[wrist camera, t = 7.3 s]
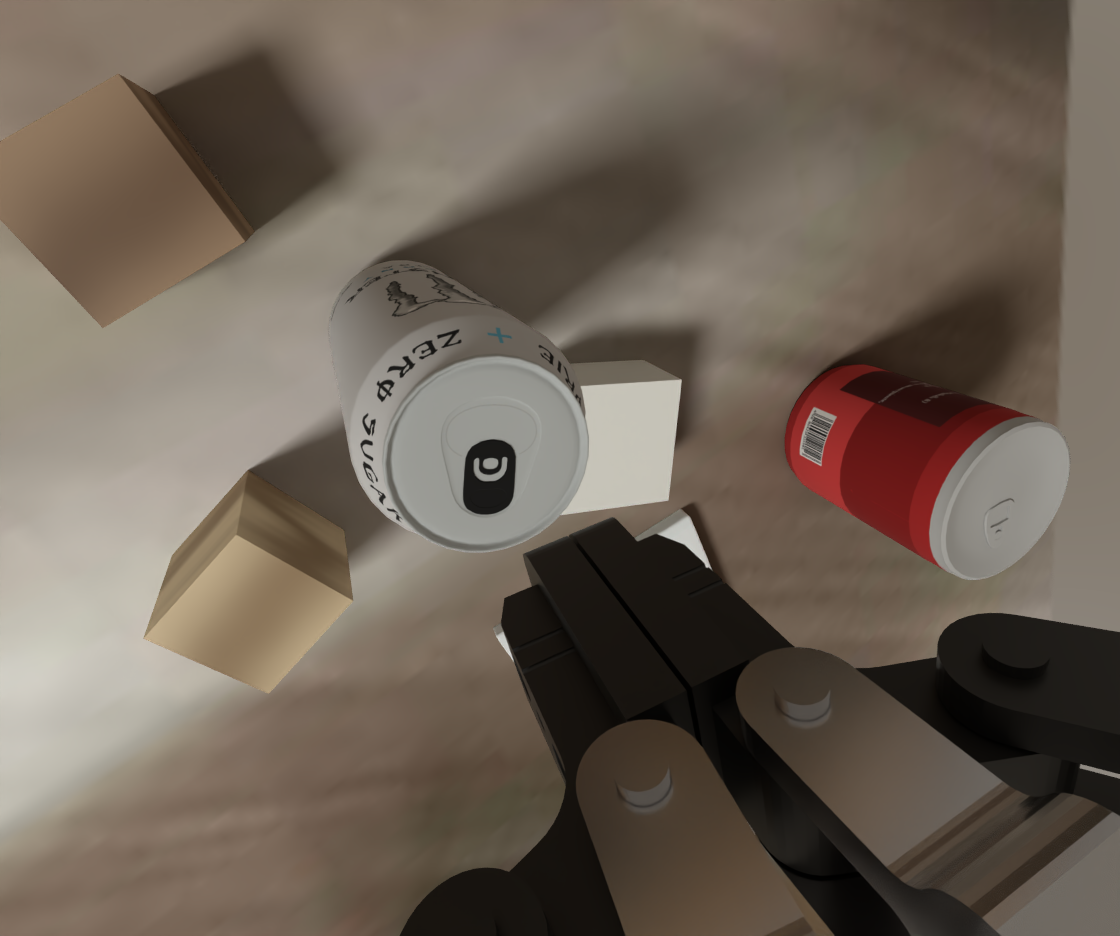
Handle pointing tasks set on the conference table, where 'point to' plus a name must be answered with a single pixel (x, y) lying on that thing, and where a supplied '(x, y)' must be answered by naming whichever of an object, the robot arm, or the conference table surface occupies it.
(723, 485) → the conference table surface
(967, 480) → the canned food
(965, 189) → the conference table surface
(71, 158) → the walnut block
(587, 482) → the pale grey block
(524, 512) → the energy drink can
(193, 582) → the oak block
